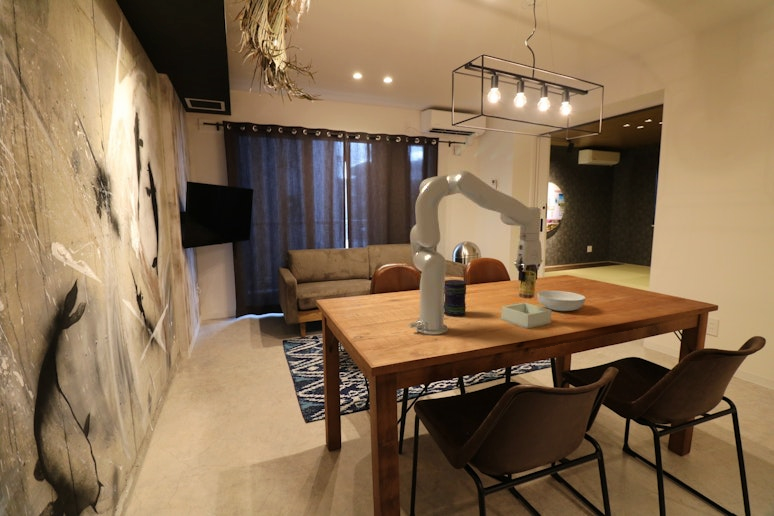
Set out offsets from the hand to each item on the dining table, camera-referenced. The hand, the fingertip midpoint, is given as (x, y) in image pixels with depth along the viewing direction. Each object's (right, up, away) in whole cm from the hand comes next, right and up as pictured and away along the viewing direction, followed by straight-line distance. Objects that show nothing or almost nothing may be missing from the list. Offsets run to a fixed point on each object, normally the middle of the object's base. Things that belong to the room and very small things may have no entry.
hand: (527, 279), depth 156 cm
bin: (0, -18, +2) cm, 18 cm away
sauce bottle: (0, -8, +1) cm, 8 cm away
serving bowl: (+24, -16, +22) cm, 36 cm away
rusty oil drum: (-28, -17, +14) cm, 36 cm away
